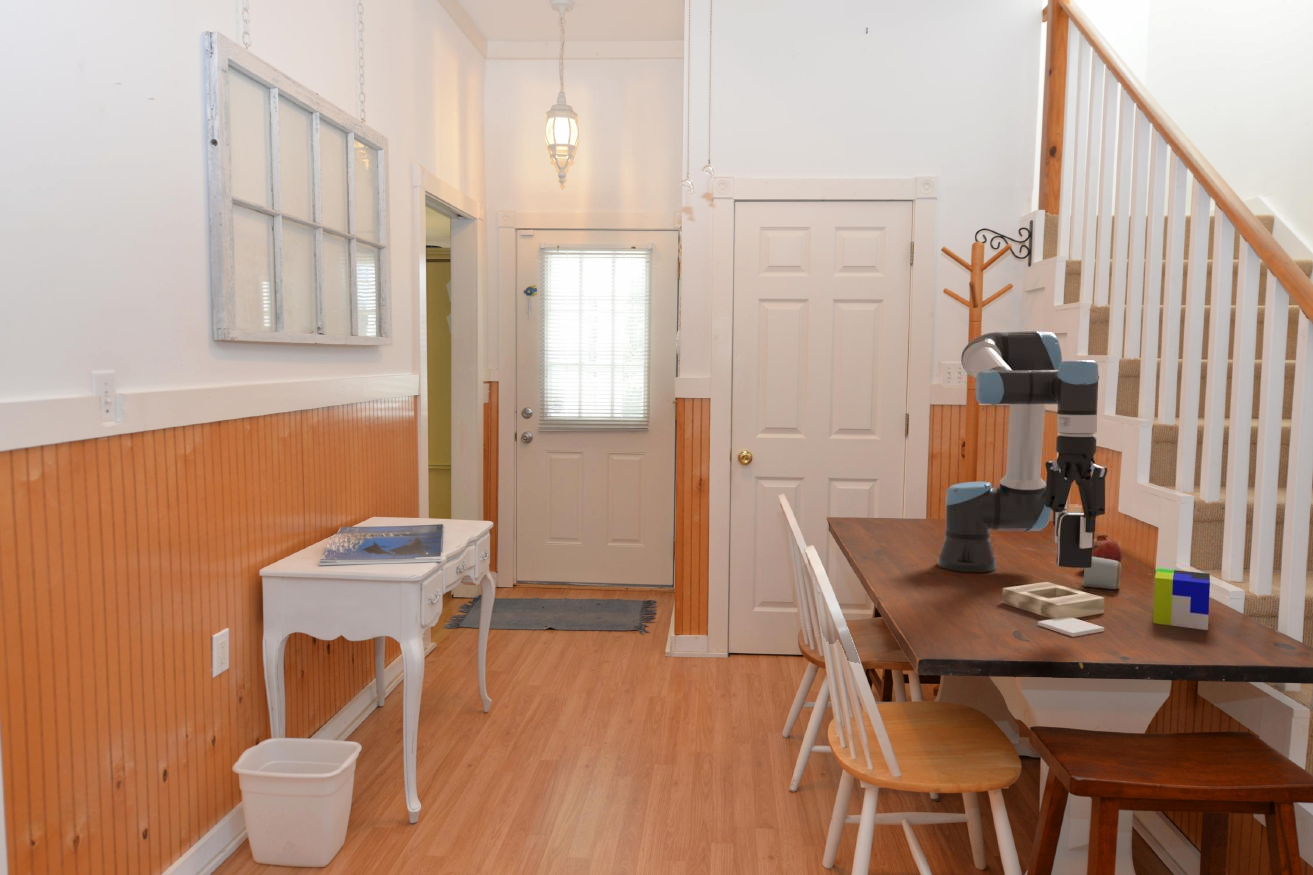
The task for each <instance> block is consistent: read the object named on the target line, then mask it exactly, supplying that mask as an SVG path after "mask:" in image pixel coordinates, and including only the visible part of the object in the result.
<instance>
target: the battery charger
mask: <svg viewBox="0 0 1313 875" xmlns="http://www.w3.org/2000/svg"><path fill="white" fill-rule="evenodd" d="M1082 515H1084V512H1068V513H1061V514H1060V515H1059V516H1058V519H1057V526H1056V536H1058V543H1057V555H1056V566H1058V567H1061V568H1073V569H1074V568H1075V569H1077V568H1078V569H1082V568H1083V569H1085V568H1091V567H1092V551H1093V543H1094V539H1095V532H1096V531H1095V532H1093V535H1092V547H1091V548H1083V549H1082V548H1080V518H1081V517H1082Z"/></svg>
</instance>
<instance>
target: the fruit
mask: <svg viewBox="0 0 1313 875" xmlns="http://www.w3.org/2000/svg"><path fill="white" fill-rule="evenodd" d="M1092 557H1097V558H1104V559H1110V560H1115V561H1118V562H1120V563H1121V562H1122V558H1123V551H1122V548H1121V546H1120V545H1119V543H1118V542H1117V541H1115V540H1114V539H1112V538H1110V539H1109V536H1108V535H1107V534H1103V535H1096V538H1094V543H1093V551H1092ZM1121 564H1122V563H1121Z"/></svg>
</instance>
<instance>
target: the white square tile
mask: <svg viewBox="0 0 1313 875" xmlns="http://www.w3.org/2000/svg"><path fill="white" fill-rule="evenodd" d="M1037 626H1039V627H1042V628H1045V629H1049V630H1052V631H1054V632H1057V633H1061V634H1062V635H1067V636H1069V637H1073V638H1074V637H1079V636H1080V637H1081V636H1085V635H1090V634H1096V633H1101V632H1105V627H1103V626H1100V625H1097V624H1095V623H1091V622H1088V621H1084V620H1082V619H1081V620H1080V619H1078V618H1072V617H1069V616H1068V617H1062V618H1056V619H1051V618H1049V619H1045V620H1039V621H1037Z"/></svg>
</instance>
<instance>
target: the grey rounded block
mask: <svg viewBox="0 0 1313 875" xmlns="http://www.w3.org/2000/svg"><path fill="white" fill-rule="evenodd" d="M1083 572H1084V573H1083V581H1082V582H1083V587H1088V588H1094V589H1095V588H1097V589H1098V588H1099V589H1107V590H1118V589H1119V588H1120V585H1121V577H1122V576H1121V574H1122V563H1120V562H1118V561H1115V560H1110V559H1104V558H1097V557H1092V567H1091V568H1084V571H1083Z"/></svg>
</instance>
